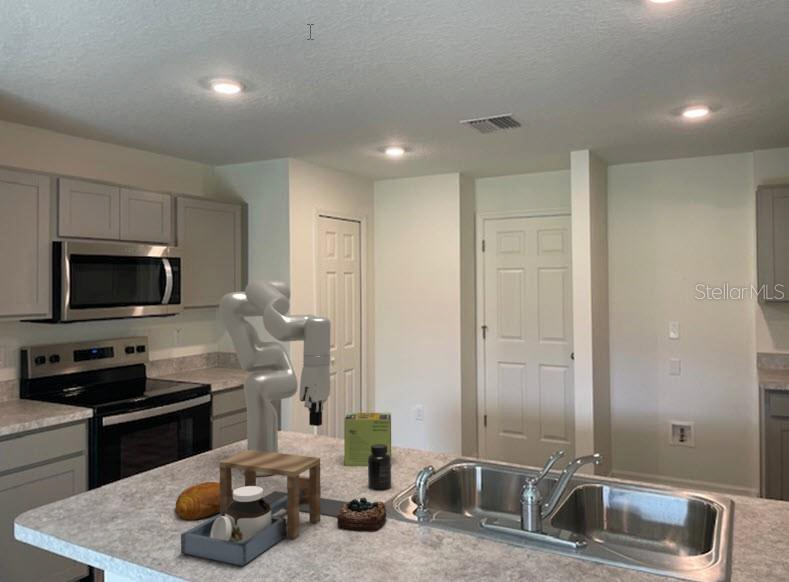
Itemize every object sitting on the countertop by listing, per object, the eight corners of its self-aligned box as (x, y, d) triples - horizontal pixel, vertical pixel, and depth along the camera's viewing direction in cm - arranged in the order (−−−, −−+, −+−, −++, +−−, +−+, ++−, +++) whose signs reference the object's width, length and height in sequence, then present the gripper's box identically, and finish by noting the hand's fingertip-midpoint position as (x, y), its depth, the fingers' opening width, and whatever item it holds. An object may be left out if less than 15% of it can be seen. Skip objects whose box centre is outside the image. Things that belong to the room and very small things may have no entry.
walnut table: (220, 525, 146) (219, 461, 146) (249, 508, 157) (249, 449, 157) (294, 539, 138) (294, 471, 138) (320, 520, 149) (320, 458, 149)
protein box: (390, 466, 195) (390, 418, 195) (344, 466, 195) (343, 418, 195) (391, 457, 205) (391, 412, 205) (347, 457, 205) (346, 412, 205)
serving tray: (181, 552, 130) (180, 522, 130) (278, 496, 165) (278, 473, 165) (242, 565, 124) (242, 534, 124) (330, 504, 159) (330, 480, 159)
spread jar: (276, 538, 139) (276, 488, 139) (246, 558, 128) (245, 504, 128) (234, 530, 143) (234, 482, 143) (202, 549, 133) (201, 497, 133)
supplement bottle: (392, 483, 177) (392, 443, 177) (390, 491, 171) (389, 449, 171) (369, 482, 178) (369, 442, 178) (366, 490, 171) (366, 448, 171)
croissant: (243, 517, 157) (247, 486, 158) (188, 525, 146) (192, 492, 147) (215, 502, 167) (219, 473, 168) (162, 509, 156) (166, 478, 157)
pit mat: (253, 503, 161) (253, 502, 161) (274, 492, 170) (274, 490, 170) (338, 517, 151) (338, 516, 151) (356, 504, 160) (356, 503, 160)
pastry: (380, 534, 141) (380, 509, 141) (331, 530, 144) (331, 506, 144) (389, 516, 152) (389, 493, 152) (344, 513, 154) (344, 490, 154)
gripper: (318, 356, 177) (317, 417, 177) (291, 363, 163) (289, 429, 164) (340, 358, 174) (339, 420, 175) (314, 365, 160) (313, 432, 161)
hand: (315, 424), depth 169 cm, fingers closed
